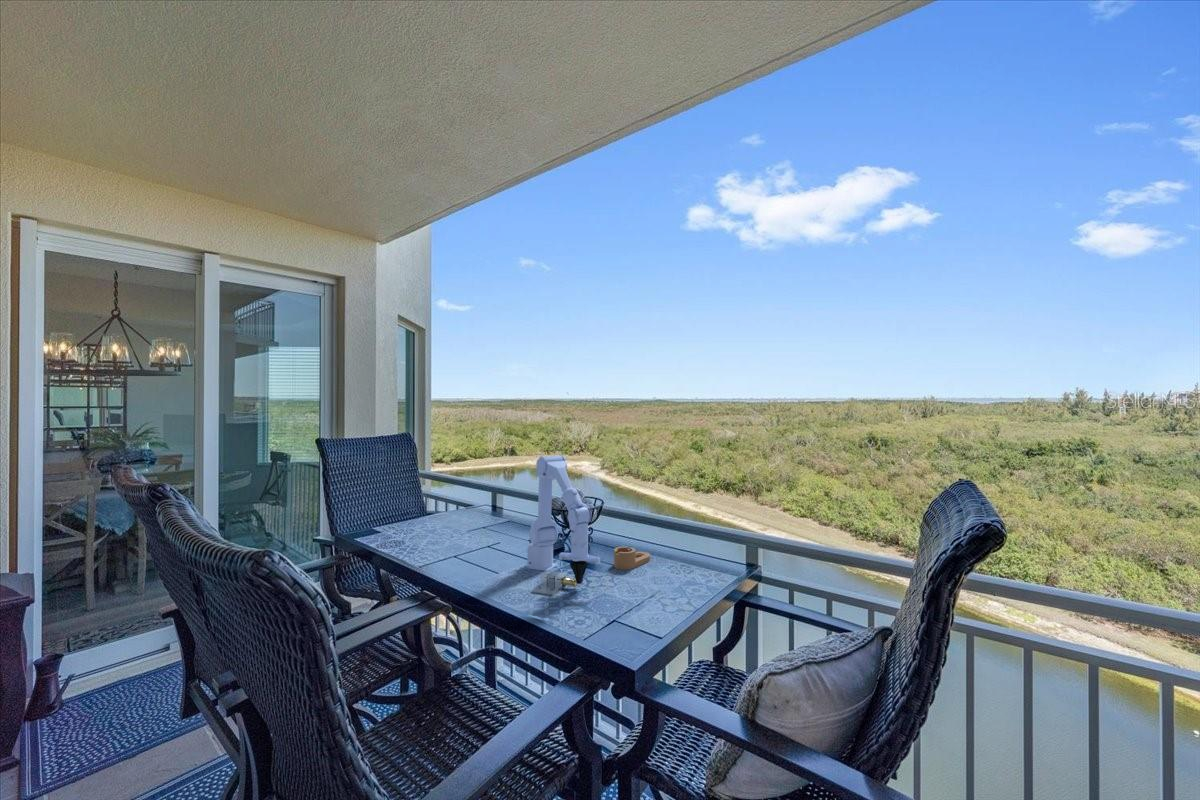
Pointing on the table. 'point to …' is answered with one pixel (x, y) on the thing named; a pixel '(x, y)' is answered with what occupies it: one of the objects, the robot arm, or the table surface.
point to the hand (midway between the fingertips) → (579, 582)
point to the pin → (569, 582)
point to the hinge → (551, 582)
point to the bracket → (629, 558)
